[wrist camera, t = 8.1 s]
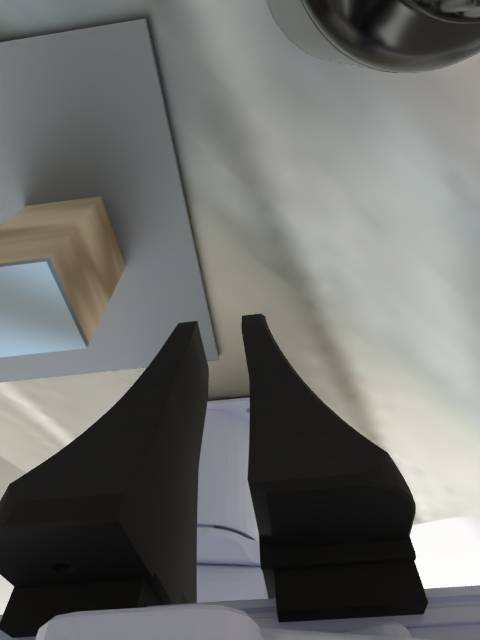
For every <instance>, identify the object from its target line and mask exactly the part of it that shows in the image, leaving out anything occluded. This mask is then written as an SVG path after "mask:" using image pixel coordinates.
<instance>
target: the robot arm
mask: <svg viewBox="0 0 480 640" xmlns="http://www.w3.org/2000/svg"><path fill="white" fill-rule="evenodd" d="M242 335H243V341H244V347H245V354H246V360H247V366H248V373H249V379H250V398H238V399H227V400H217V401H208V376H209V368H208V364H207V359H206V355H205V351H204V347H203V343H202V338H201V334H200V330H199V326H198V322H197V321H192V322H182V323H178V324H177V326H176V327H175V329H174V330H173V332H172V333H171V335H170V336H169V338H168V339H167V341H166V342H165V343H164V345H163V346H162V348H161V349H160V351H159V352H158V354H157V355H156V356H155V358H154V359H153V360H152V362H151V363H150V364H149V366H148V367H147V368H146V370H145V371H144V372H143V373H142V375H141V376H140V377H139V378H138V380H137V381H136V382H135V383H134V384H133V386H132V387H131V388H130V389H129V390H128V391H127V392H126V394H125V395H124V396H123V397H122V398H121V399H120V400H119V401H118V402H117V403H116V404H115V405H114V406H113V407H112V408H111V409H110V410H109V411H108V412H107V413H106V414H104V415H103V416H102V417H101V418H100V419H99V420H98V421H96V422H95V423H94V424H93V425H92V426H91V427H90V428H88V429H87V430H86V431H85V432H84V433H83V434H81V435H80V436H79V437H77V438H76V439H75V440H74V441H72V442H71V443H70V444H69V445H67V446H66V447H64V448H63V449H62V450H60V451H59V452H58V453H56V454H55V455H53V456H52V457H51V458H49V459H48V460H46V461H45V462H43V463H42V464H40V465H39V466H37V467H36V468H34V469H32V470H31V471H29V472H28V473H26V474H25V475H23V476H22V477H20V478H19V479H17V480H15V481H14V482H12V483H10V484H9V486H8V488H7V490H6V492H5V493H4V495H3V497H2V499H1V501H0V574H1V575H2V576H3V577H4V578H5V579H6V580H8V581H9V582H10V583H11V584H12V585H13V586H14V589H13V592H12V594H11V597H10V599H9V602H8V604H7V607H6V609H5V611H4V614H3V615H0V640H480V586H465V587H448V588H433V589H432V588H431V589H424V588H423V585H422V582H421V580H420V577H419V574H418V571H417V568H416V565H415V562H414V560H415V558H416V555H415V551H414V548H413V545H412V543H411V539H410V532H411V528H412V524H413V520H414V517H415V502H414V499H413V496H412V494H411V492H410V489H409V487H408V485H407V484H406V482H405V480H404V478H403V476H402V474H401V473H400V471H399V469H398V468H397V466H396V465H395V463H394V461H393V460H392V458H391V457H390V455H389V454H388V453H387V452H386V451H384V450H383V449H381V448H380V447H378V446H377V445H375V444H374V443H372V442H371V441H370V440H368V439H367V438H365V437H364V436H363V435H361V434H360V433H359V432H357V431H356V430H355V429H353V428H352V427H351V426H350V425H348V424H347V423H346V422H345V421H343V420H342V419H341V418H340V417H339V416H338V415H337V414H336V413H335V412H333V411H332V410H331V409H330V408H329V407H328V406H327V405H326V404H324V403H323V402H322V401H321V400H320V399H319V398H318V396H317V395H316V394H315V393H314V392H313V391H312V390H311V389H310V388H309V387H308V386H307V385H306V384H305V382H304V381H303V380H302V379H301V378H300V376H299V375H298V374H297V373H296V371H295V370H294V369H293V367H292V366H291V365H290V363H289V362H288V360H287V359H286V358H285V356H284V355H283V353H282V351H281V350H280V348H279V347H278V345H277V343H276V342H275V340H274V338H273V336H272V334H271V332H270V330H269V328H268V325H267V322H266V319H265V316H264V315H262V314H255V315H246V316H242ZM248 408H250V409H248Z"/></svg>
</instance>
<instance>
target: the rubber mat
mask: <svg viewBox="0 0 480 640" xmlns="http://www.w3.org/2000/svg"><path fill="white" fill-rule="evenodd" d="M98 196H102V199H103V202H104V205H105V208H106V211H107V214H108V217H109V220H110V223H111V225H112V228H113V231H114V234H115V237H116V240H117V243H118V246H119V249H120V252H121V255H122V258H123V261H124V264H125V269H124V271H123V273H122V276H121V278H120V280H119V282H118V284H117V286H116V288H115V290H114V292H113V294H112V296H111V298H110V301H109V303H108V305H107V307H106V309H105V311H104V313H103V315H102V317H101V319H100V321H99V323H98V326H97V328H96V330H95V332H94V334H93V336H92V338H91V340H90V342H89V344H88V346H87V348H83V349H74V350H65V351H55V352H46V353H37V354H27V355H18V356H9V357H0V382H8V381H18V380H28V379H37V378H47V377H57V376H66V375H76V374H86V373H95V372H105V371H115V370H124V369H134V368H144V367H148V366H149V364H150V363H151V362H152V360H153V359H154V358H155V356H156V355H157V354H158V352H159V351H160V349H161V348H162V346H163V345H164V343H165V342H166V341H167V339H168V338H169V336H170V335H171V333H172V332H173V330H174V329H175V327H176V326H177V324H178V323H182V322H192V321H197V322H198V326H199V330H200V334H201V338H202V343H203V347H204V351H205V355H206V359H207V361H211V360H218V358H219V355H218V351H217V346H216V341H215V336H214V332H213V327H212V322H211V318H210V313H209V308H208V304H207V299H206V294H205V289H204V285H203V280H202V275H201V271H200V266H199V261H198V256H197V252H196V247H195V242H194V238H193V233H192V228H191V223H190V219H189V214H188V209H187V205H186V200H185V195H184V191H183V186H182V181H181V176H180V172H179V167H178V162H177V158H176V153H175V148H174V143H173V139H172V134H171V129H170V125H169V120H168V115H167V110H166V106H165V101H164V96H163V92H162V87H161V82H160V78H159V73H158V68H157V63H156V59H155V54H154V49H153V45H152V40H151V35H150V30H149V26H148V21H147V19H139V20H133V21H127V22H121V23H114V24H108V25H102V26H96V27H90V28H84V29H78V30H72V31H66V32H60V33H54V34H48V35H42V36H35V37H29V38H23V39H17V40H11V41H5V42H0V226H1V225H2V224H3V223H4V222H6V221H7V220H8V219H9V218H11V217H12V216H13V215H14V214H16V213H17V212H18V211H19V210H21V209H22V208H23V207H24V206H31V205H38V204H46V203H53V202H60V201H68V200H75V199H83V198H90V197H98Z"/></svg>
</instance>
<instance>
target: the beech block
mask: <svg viewBox="0 0 480 640" xmlns="http://www.w3.org/2000/svg"><path fill="white" fill-rule="evenodd" d="M124 269H125V264H124V261H123V258H122V255H121V252H120V249H119V246H118V243H117V240H116V237H115V234H114V231H113V228H112V225H111V223H110V220H109V217H108V214H107V211H106V208H105V205H104V202H103V199H102V196H98V197H90V198H83V199H75V200H68V201H60V202H53V203H46V204H38V205H31V206H24V207H23V208H22V209H21V210H19V211H18V212H17V213H16V214H14V215H13V216H12V217H11V218H9V219H8V220H7V221H6V222H4V223H3V224H2V225H1V226H0V357H9V356H18V355H27V354H37V353H46V352H55V351H65V350H74V349H83V348H87V346H88V344H89V342H90V340H91V338H92V336H93V334H94V332H95V330H96V328H97V326H98V323H99V321H100V319H101V317H102V315H103V313H104V311H105V309H106V307H107V305H108V303H109V301H110V298H111V296H112V294H113V292H114V290H115V288H116V286H117V284H118V282H119V280H120V278H121V276H122V273H123V271H124Z"/></svg>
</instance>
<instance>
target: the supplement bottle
mask: <svg viewBox="0 0 480 640" xmlns="http://www.w3.org/2000/svg"><path fill="white" fill-rule="evenodd" d="M266 2H267V4H268V7H269V10H270V12H271V14H272V16H273V18H274V20H275V21H276V23H277V25H278V26H279V28H280V29H281V30H282V32H283V33H284V34H285V35H286V36H287V38H288V39H289V40H290V41H291V42H292V43H294V44H295V45H296V46H297V47H298V48H300V49H301V50H303V51H304V52H306V53H308V54H310V55H312V56H315V57H317V58H320V59H323V60H327V61H331V62H336V63H342V64H347V65H352V66H357V67H363V68H368V69H373V70H379V71H385V72H394V73H416V72H424V71H431V70H435V69H440V68H443V67H446V66H449V65H452V64H455V63H458V62H460V61H462V60H464V59H467V58H469V57H471V56H473V55H475V54H477V53H478V52H480V0H266Z"/></svg>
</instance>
